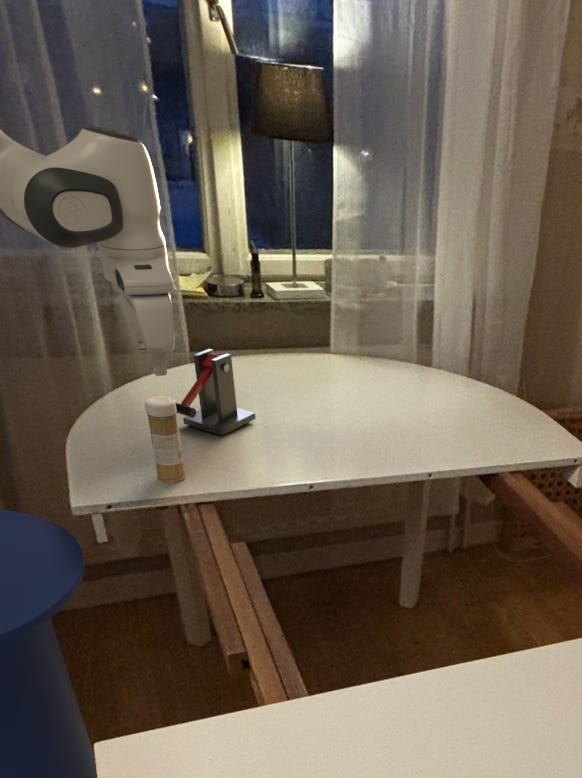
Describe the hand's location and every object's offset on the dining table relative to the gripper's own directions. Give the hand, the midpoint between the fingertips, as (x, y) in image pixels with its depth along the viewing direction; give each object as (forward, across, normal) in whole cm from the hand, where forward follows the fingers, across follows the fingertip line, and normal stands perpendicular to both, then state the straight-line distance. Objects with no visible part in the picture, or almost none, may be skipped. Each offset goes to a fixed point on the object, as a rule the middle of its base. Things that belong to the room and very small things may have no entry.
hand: (153, 363), depth 116 cm
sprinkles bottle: (+20, 0, 0) cm, 20 cm away
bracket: (+20, -21, +14) cm, 31 cm away
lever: (+12, -19, +10) cm, 24 cm away
